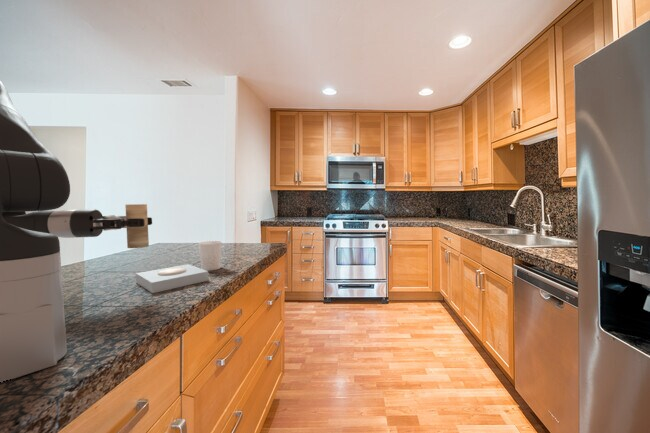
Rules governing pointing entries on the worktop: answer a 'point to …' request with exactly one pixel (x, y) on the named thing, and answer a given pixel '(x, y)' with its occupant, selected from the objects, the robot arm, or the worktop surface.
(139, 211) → the maple pillar
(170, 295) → the worktop surface
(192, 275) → the light grey plinth
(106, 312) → the worktop surface
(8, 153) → the robot arm
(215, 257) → the white cup
